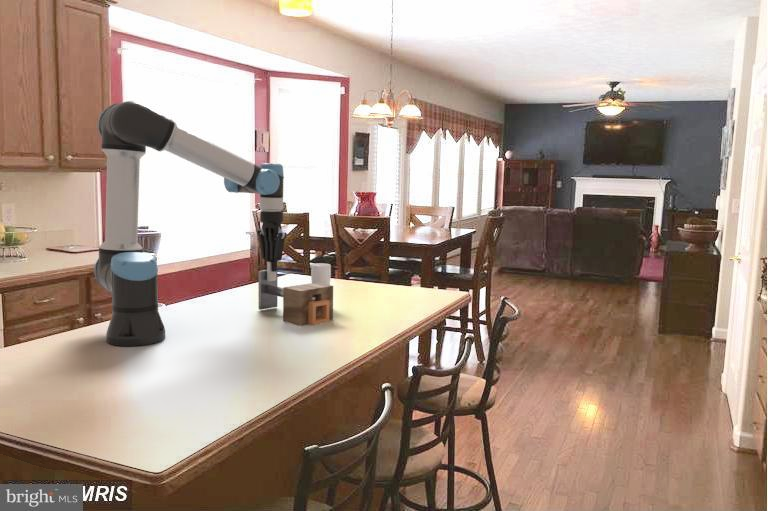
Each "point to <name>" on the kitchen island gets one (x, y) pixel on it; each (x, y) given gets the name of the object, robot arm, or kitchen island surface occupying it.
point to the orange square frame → (312, 312)
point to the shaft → (270, 291)
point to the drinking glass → (321, 273)
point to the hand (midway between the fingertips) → (271, 280)
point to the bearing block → (305, 302)
